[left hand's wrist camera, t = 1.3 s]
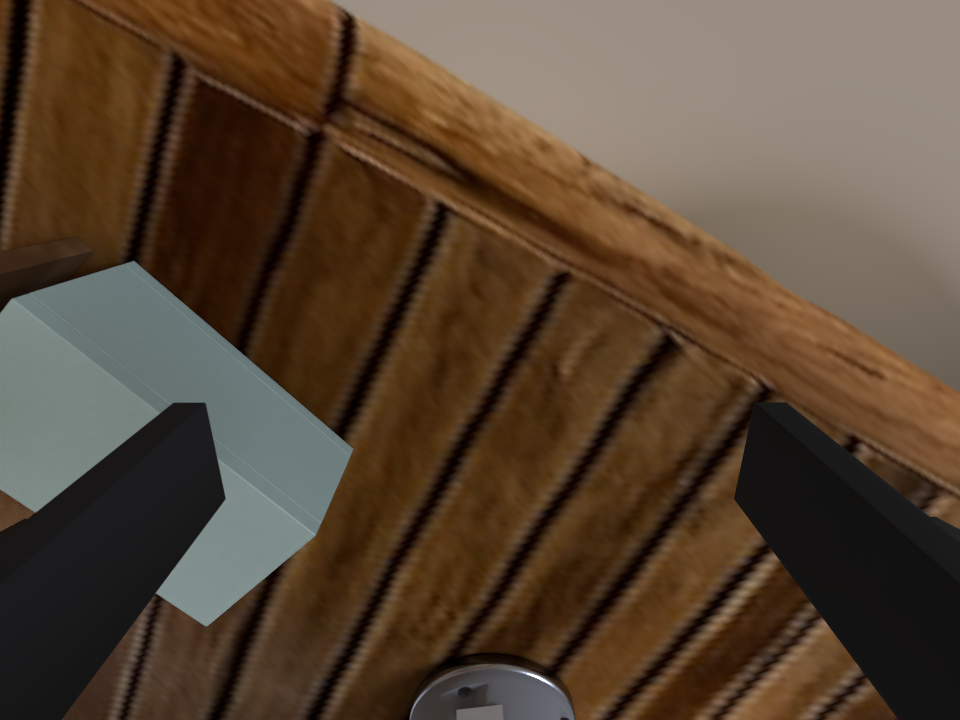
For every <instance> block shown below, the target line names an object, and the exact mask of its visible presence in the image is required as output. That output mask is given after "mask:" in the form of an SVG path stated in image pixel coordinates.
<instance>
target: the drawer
mask: <svg viewBox="0 0 960 720" xmlns="http://www.w3.org/2000/svg"><path fill="white" fill-rule="evenodd" d="M93 251H94V250H93V249H92V248H91V247H90V246H89V245H87V244H86V243H85V242H84V241H83V240H82V239H80V238H79V237H72V238H67V239H62V240H57V241H52V242H47V243H42V244H37V245H33V246H28V247H23V248H18V249H13V250H8V251H3V252H0V313H1V311H2V310H3V309H4V308H5V306H6V305H7V304H8V302H9V301H10V300H11V299H12V298H15V297H19V296H22V295H25V294H29V293H31V292H34V291H37V290H40V289H44V288H47V287H50V286H54V285H57V284H60V283H63V282H67V281H70V280H71V278H72V277H73V276H74V275H75V273H76V272H77V271H78V270H79V268H80V267H81V266H82V265H83V263H84V262H85V261H86V260H87V258H88V257H89V256H90V255H91V253H92V252H93Z"/></svg>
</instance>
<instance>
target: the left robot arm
mask: <svg viewBox="0 0 960 720" xmlns="http://www.w3.org/2000/svg"><path fill="white" fill-rule="evenodd" d="M225 500H226V497H225V492H224V488H223V483H222V478H221V473H220V468H219V464H218V459H217V454H216V449H215V445H214V440H213V435H212V430H211V426H210V421H209V416H208V411H207V406H206V403H172V404H171V405H170V406H169V407H167V408H166V409H165V410H164V411H162V412H161V413H160V414H159V415H157V416H156V417H155V418H154V419H152V420H151V421H150V422H149V423H147V424H146V425H145V426H144V427H142V428H141V429H140V430H139V431H137V432H136V433H135V434H134V435H132V436H131V437H130V438H129V439H127V440H126V441H125V442H124V443H122V444H121V445H120V446H119V447H117V448H116V449H115V450H114V451H112V452H111V453H110V454H109V455H107V456H106V457H105V458H104V459H102V460H101V461H100V462H98V463H97V464H96V465H95V466H93V467H92V468H91V469H90V470H88V471H87V472H86V473H85V474H83V475H82V476H81V477H80V478H78V479H77V480H76V481H75V482H73V483H72V484H71V485H70V486H68V487H67V488H66V489H65V490H63V491H62V492H61V493H60V494H58V495H57V496H56V497H55V498H53V499H52V500H51V501H50V502H48V503H47V504H46V505H45V506H43V507H42V508H41V509H40V510H38V511H37V512H36V513H35V514H33V515H32V516H31V517H30V518H28V519H24V520H22V521H20V522H18V523H16V524H14V525H12V526H10V527H8V528H7V529H5V530H3V531H1V532H0V720H61V719H62V718H63V717H64V715H65V714H66V713H67V711H68V710H69V709H70V707H71V706H72V705H73V703H74V702H75V701H76V699H77V698H78V697H79V695H80V694H81V693H82V691H83V690H84V689H85V687H86V686H87V685H88V683H89V682H90V681H91V679H92V678H93V677H94V675H95V674H96V673H97V671H98V670H99V669H100V667H101V666H102V664H103V663H104V662H105V660H106V659H107V658H108V656H109V655H110V654H111V652H112V651H113V650H114V648H115V647H116V646H117V644H118V643H119V642H120V640H121V639H122V638H123V636H124V635H125V634H126V632H127V631H128V630H129V628H130V627H131V626H132V624H133V623H134V622H135V620H136V619H137V618H138V616H139V615H140V614H141V612H142V611H143V609H144V608H145V607H146V605H147V604H148V603H149V601H150V600H151V599H152V597H153V596H154V595H155V593H156V592H157V591H158V589H159V588H160V587H161V585H162V584H163V583H164V581H165V580H166V579H167V577H168V576H169V575H170V573H171V572H172V571H173V569H174V568H175V567H176V565H177V564H178V563H179V561H180V560H181V559H182V557H183V556H184V554H185V553H186V552H187V550H188V549H189V548H190V546H191V545H192V544H193V542H194V541H195V540H196V538H197V537H198V536H199V534H200V533H201V532H202V530H203V529H204V528H205V526H206V525H207V524H208V522H209V521H210V520H211V518H212V517H213V516H214V514H215V513H216V512H217V510H218V509H219V508H220V506H221V505H222V504H223V502H224V501H225ZM734 500H735V501H736V502H737V504H738V505H739V506H740V508H741V509H742V510H743V512H744V513H745V514H746V516H747V517H748V518H749V520H750V521H751V522H752V524H753V525H754V526H755V528H756V529H757V530H758V532H759V533H760V534H761V536H762V537H763V538H764V540H765V541H766V542H767V544H768V545H769V546H770V548H771V549H772V550H773V552H774V553H775V554H776V556H777V557H778V559H779V560H780V561H781V563H782V564H783V565H784V567H785V568H786V569H787V571H788V572H789V573H790V575H791V576H792V577H793V579H794V580H795V581H796V583H797V584H798V585H799V587H800V588H801V589H802V591H803V592H804V593H805V595H806V596H807V597H808V599H809V600H810V601H811V603H812V604H813V605H814V607H815V608H816V609H817V611H818V612H819V614H820V615H821V616H822V618H823V619H824V620H825V622H826V623H827V624H828V626H829V627H830V628H831V630H832V631H833V632H834V634H835V635H836V636H837V638H838V639H839V640H840V642H841V643H842V644H843V646H844V647H845V648H846V650H847V651H848V652H849V654H850V655H851V656H852V658H853V659H854V660H855V662H856V663H857V664H858V666H859V667H860V669H861V670H862V671H863V673H864V674H865V675H866V677H867V678H868V679H869V681H870V682H871V683H872V685H873V686H874V687H875V689H876V690H877V691H878V693H879V694H880V695H881V697H882V698H883V699H884V701H885V702H886V703H887V705H888V706H889V707H890V709H891V710H892V711H893V713H894V714H895V715H896V717H897V718H898V719H899V720H960V529H958V528H956V527H954V526H952V525H950V524H948V523H946V522H944V521H943V520H941V519H939V518H937V517H929V516H928V515H927V514H925V513H924V512H923V511H922V510H920V509H919V508H918V507H917V506H915V505H914V504H913V503H912V502H910V501H909V500H908V499H907V498H905V497H904V496H903V495H902V494H900V493H899V492H898V491H897V490H895V489H894V488H893V487H892V486H890V485H889V484H888V483H887V482H885V481H884V480H883V479H882V478H880V477H879V476H878V475H877V474H875V473H874V472H873V471H872V470H870V469H869V468H868V467H867V466H865V465H864V464H863V463H862V462H860V461H859V460H858V459H856V458H855V457H854V456H853V455H851V454H850V453H849V452H848V451H846V450H845V449H844V448H843V447H841V446H840V445H839V444H838V443H836V442H835V441H834V440H833V439H831V438H830V437H829V436H828V435H826V434H825V433H824V432H823V431H821V430H820V429H819V428H818V427H816V426H815V425H814V424H813V423H811V422H810V421H809V420H808V419H806V418H805V417H804V416H803V415H801V414H800V413H799V412H798V411H796V410H795V409H794V408H793V407H791V406H790V405H789V404H788V403H754V406H753V411H752V416H751V421H750V426H749V430H748V435H747V440H746V445H745V449H744V454H743V459H742V464H741V468H740V473H739V478H738V483H737V488H736V492H735V497H734ZM410 720H575V713H574V707H573V702H572V698H571V695H570V693H569V691H568V689H567V687H566V686H565V685H564V683H563V682H562V681H561V680H560V679H559V678H558V677H557V676H556V675H555V674H554V673H552V672H551V671H549V670H548V669H546V668H545V667H543V666H541V665H539V664H537V663H535V662H532V661H529V660H526V659H523V658H519V657H514V656H507V655H477V656H471V657H467V658H462V659H459V660H456V661H453V662H451V663H448V664H446V665H444V666H442V667H440V668H439V669H437V670H436V671H434V672H433V673H431V674H430V675H429V676H428V677H427V678H426V679H425V680H424V681H423V682H422V683H421V684H420V686H419V687H418V689H417V690H416V692H415V694H414V697H413V700H412V705H411V712H410Z"/></svg>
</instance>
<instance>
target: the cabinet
mask: <svg viewBox="0 0 960 720" xmlns="http://www.w3.org/2000/svg"><path fill="white" fill-rule="evenodd" d="M172 403H206V406H207V411H208V416H209V421H210V426H211V430H212V435H213V440H214V445H215V449H216V454H217V459H218V464H219V468H220V473H221V478H222V483H223V488H224V492H225V497H226V500H225V501H224V502H223V504H222V505H221V506H220V508H219V509H218V510H217V512H216V513H215V514H214V516H213V517H212V518H211V520H210V521H209V522H208V524H207V525H206V526H205V528H204V529H203V530H202V532H201V533H200V534H199V536H198V537H197V538H196V540H195V541H194V542H193V544H192V545H191V546H190V548H189V549H188V550H187V552H186V553H185V554H184V556H183V557H182V559H181V560H180V561H179V563H178V564H177V565H176V567H175V568H174V569H173V571H172V572H171V573H170V575H169V576H168V577H167V579H166V580H165V581H164V583H163V584H162V585H161V587H160V588H159V589H158V591H157V592H156V594H158V595H159V596H161V597H162V598H164V599H165V600H167V601H168V602H170V603H171V604H173V605H174V606H176V607H177V608H179V609H180V610H182V611H183V612H185V613H186V614H188V615H189V616H191V617H192V618H194V619H195V620H197V621H198V622H200V623H201V624H203V625H204V626H208V625H209V624H210V623H212V622H213V621H214V620H215V619H216V618H217V617H219V616H220V615H221V614H222V613H223V612H225V611H226V610H227V609H228V608H229V607H231V606H232V605H233V604H234V603H235V602H237V601H238V600H239V599H240V598H241V597H243V596H244V595H245V594H246V593H247V592H249V591H250V590H251V589H252V588H253V587H255V586H256V585H257V584H258V583H259V582H261V581H262V580H263V579H264V578H265V577H267V576H268V575H269V574H270V573H271V572H273V571H274V570H275V569H276V568H277V567H278V566H280V565H281V564H282V563H283V562H284V561H286V560H287V559H288V558H289V557H290V556H292V555H293V554H294V553H295V552H296V551H298V550H299V549H300V548H301V547H302V546H304V545H305V544H306V543H307V542H308V541H310V540H311V539H312V538H313V537H314V536H316V533H317V531H318V529H319V526H320V524H321V522H322V520H323V518H324V516H325V513H326V511H327V509H328V506H329V504H330V502H331V499H332V497H333V495H334V493H335V490H336V488H337V486H338V483H339V481H340V479H341V477H342V474H343V472H344V470H345V467H346V465H347V463H348V460H349V458H350V456H351V453H352V451H353V448H352V447H350V446H349V445H348V444H347V443H346V442H345V441H343V440H342V439H341V438H340V437H339V436H338V435H336V434H335V433H334V432H333V431H332V430H331V429H329V428H328V427H327V426H326V425H325V424H324V423H322V422H321V421H320V420H319V419H318V418H317V417H315V416H314V415H313V414H312V413H311V412H310V411H308V410H307V409H306V408H305V407H304V406H303V405H301V404H300V403H299V402H298V401H297V400H296V399H294V398H293V397H292V396H291V395H290V394H289V393H287V392H286V391H285V390H284V389H283V388H282V387H280V386H279V385H278V384H277V383H276V382H275V381H273V380H272V379H271V378H270V377H269V376H268V375H266V374H265V373H264V372H263V371H262V370H261V369H259V368H258V367H257V366H256V365H255V364H254V363H252V362H251V361H250V360H249V359H248V358H247V357H245V356H244V355H243V354H242V353H241V352H240V351H238V350H237V349H236V348H235V347H234V346H233V345H231V344H230V343H229V342H228V341H227V340H226V339H224V338H223V337H222V336H221V335H220V334H219V333H217V332H216V331H215V330H214V329H213V328H212V327H210V326H209V325H208V324H207V323H206V322H205V321H203V320H202V319H201V318H200V317H199V316H198V315H196V314H195V313H194V312H193V311H192V310H191V309H189V308H188V307H187V306H186V305H185V304H184V303H182V302H181V301H180V300H179V299H178V298H177V297H175V296H174V295H173V294H172V293H171V292H170V291H168V290H167V289H166V288H165V287H164V286H163V285H161V284H160V283H159V282H158V281H157V280H156V279H154V278H153V277H152V276H151V275H150V274H149V273H147V272H146V271H145V270H144V269H143V268H142V267H140V266H139V265H138V264H137V263H136V262H135V261H132V262H129V263H126V264H122V265H119V266H116V267H112V268H109V269H106V270H103V271H99V272H96V273H93V274H89V275H86V276H83V277H80V278H76V279H73V280H70V281H67V282H63V283H60V284H57V285H54V286H50V287H47V288H44V289H40V290H37V291H34V292H31V293H29V294H25V295H22V296H19V297H15V298H12V299H11V300H10V301H9V302H8V304H7V305H6V306H5V308H4V309H3V310H2V311H1V313H0V490H2V491H3V492H5V493H6V494H8V495H9V496H11V497H12V498H14V499H15V500H17V501H18V502H20V503H21V504H23V505H24V506H26V507H27V508H29V509H30V510H32V511H33V512H35V513H36V512H37V511H38V510H40V509H41V508H42V507H43V506H45V505H46V504H47V503H48V502H50V501H51V500H52V499H53V498H55V497H56V496H57V495H58V494H60V493H61V492H62V491H63V490H65V489H66V488H67V487H68V486H70V485H71V484H72V483H73V482H75V481H76V480H77V479H78V478H80V477H81V476H82V475H83V474H85V473H86V472H87V471H88V470H90V469H91V468H92V467H93V466H95V465H96V464H97V463H98V462H100V461H101V460H102V459H104V458H105V457H106V456H107V455H109V454H110V453H111V452H112V451H114V450H115V449H116V448H117V447H119V446H120V445H121V444H122V443H124V442H125V441H126V440H127V439H129V438H130V437H131V436H132V435H134V434H135V433H136V432H137V431H139V430H140V429H141V428H142V427H144V426H145V425H146V424H147V423H149V422H150V421H151V420H152V419H154V418H155V417H156V416H157V415H159V414H160V413H161V412H162V411H164V410H165V409H166V408H167V407H169V406H170V405H171V404H172Z"/></svg>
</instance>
